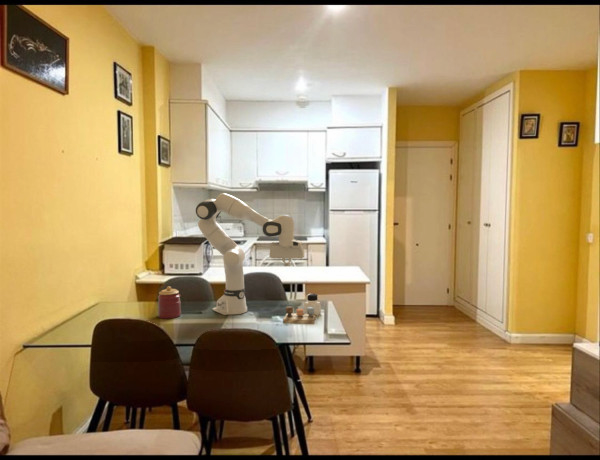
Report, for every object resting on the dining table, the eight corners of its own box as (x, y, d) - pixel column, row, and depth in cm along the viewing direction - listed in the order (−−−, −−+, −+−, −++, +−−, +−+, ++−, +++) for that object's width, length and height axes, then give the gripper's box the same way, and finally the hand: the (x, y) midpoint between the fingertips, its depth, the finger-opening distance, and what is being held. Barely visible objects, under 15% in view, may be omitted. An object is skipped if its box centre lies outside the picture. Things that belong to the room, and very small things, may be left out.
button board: (283, 322, 219) (283, 318, 219) (287, 316, 231) (287, 312, 231) (313, 323, 216) (313, 320, 216) (316, 317, 228) (316, 314, 228)
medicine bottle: (320, 314, 235) (320, 294, 234) (313, 316, 230) (312, 296, 229) (311, 311, 240) (311, 292, 239) (304, 314, 235) (303, 294, 234)
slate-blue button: (306, 317, 221) (306, 308, 221) (307, 315, 225) (307, 306, 225) (313, 317, 220) (313, 309, 220) (314, 315, 224) (314, 307, 224)
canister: (169, 311, 243) (168, 283, 242) (185, 314, 238) (185, 285, 236) (153, 317, 232) (152, 287, 230) (170, 320, 226) (169, 289, 225)
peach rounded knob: (295, 319, 222) (295, 310, 222) (297, 317, 226) (297, 308, 226) (302, 319, 221) (302, 310, 221) (304, 317, 225) (303, 308, 225)
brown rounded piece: (285, 316, 223) (285, 308, 223) (286, 314, 227) (286, 306, 227) (292, 317, 222) (292, 308, 222) (293, 315, 226) (293, 306, 226)
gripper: (267, 242, 230) (268, 266, 231) (302, 243, 227) (303, 267, 228) (270, 241, 236) (270, 264, 237) (304, 242, 233) (304, 265, 234)
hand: (286, 265), depth 232 cm, fingers closed
